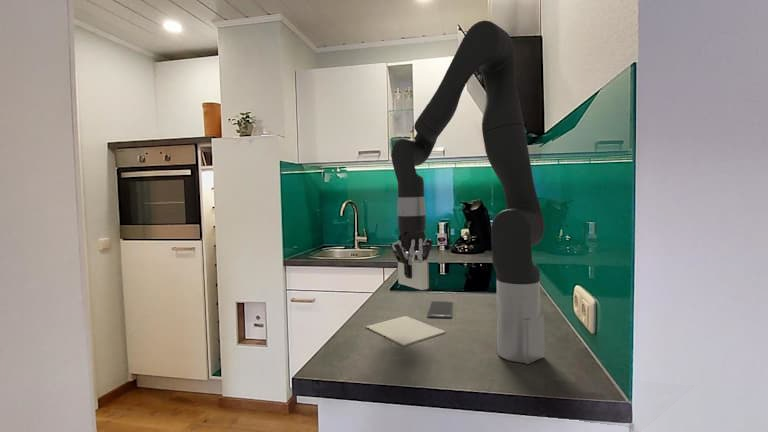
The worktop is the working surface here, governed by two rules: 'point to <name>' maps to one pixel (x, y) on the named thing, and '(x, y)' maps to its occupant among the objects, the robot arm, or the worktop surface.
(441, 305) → the smartphone
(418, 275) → the block
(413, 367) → the worktop surface
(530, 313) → the robot arm
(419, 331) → the mat
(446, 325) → the worktop surface
